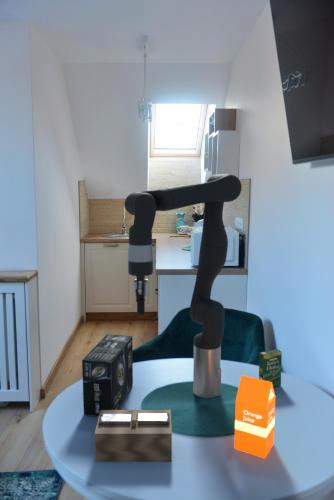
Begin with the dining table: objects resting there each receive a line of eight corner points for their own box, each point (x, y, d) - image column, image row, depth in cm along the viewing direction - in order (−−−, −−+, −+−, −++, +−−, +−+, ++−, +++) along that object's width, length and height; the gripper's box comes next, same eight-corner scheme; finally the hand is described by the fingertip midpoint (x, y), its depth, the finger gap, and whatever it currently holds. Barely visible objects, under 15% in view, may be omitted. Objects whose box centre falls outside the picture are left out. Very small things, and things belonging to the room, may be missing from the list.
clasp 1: (98, 425, 119) (98, 421, 118) (100, 417, 123) (100, 413, 122) (130, 425, 119) (130, 421, 119) (131, 417, 123) (131, 413, 123)
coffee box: (262, 390, 156) (263, 354, 154) (257, 386, 158) (258, 351, 156) (281, 386, 159) (282, 351, 157) (276, 383, 161) (277, 348, 159)
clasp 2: (169, 416, 123) (169, 413, 123) (169, 424, 119) (169, 420, 119) (138, 416, 123) (138, 412, 123) (137, 424, 119) (137, 420, 119)
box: (113, 419, 137) (112, 361, 134) (82, 415, 139) (81, 358, 136) (133, 385, 159) (133, 335, 156) (107, 383, 161) (106, 333, 158)
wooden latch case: (170, 435, 128) (170, 404, 127) (171, 461, 116) (171, 427, 115) (101, 435, 128) (100, 404, 126) (95, 462, 116) (94, 428, 114)
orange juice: (243, 435, 128) (246, 369, 125) (273, 444, 124) (276, 376, 121) (233, 449, 122) (235, 380, 119) (265, 459, 117) (267, 388, 114)
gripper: (152, 262, 128) (152, 320, 131) (153, 255, 141) (153, 307, 144) (126, 262, 128) (127, 320, 131) (129, 255, 141) (130, 307, 144)
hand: (141, 313), depth 137 cm, fingers closed
